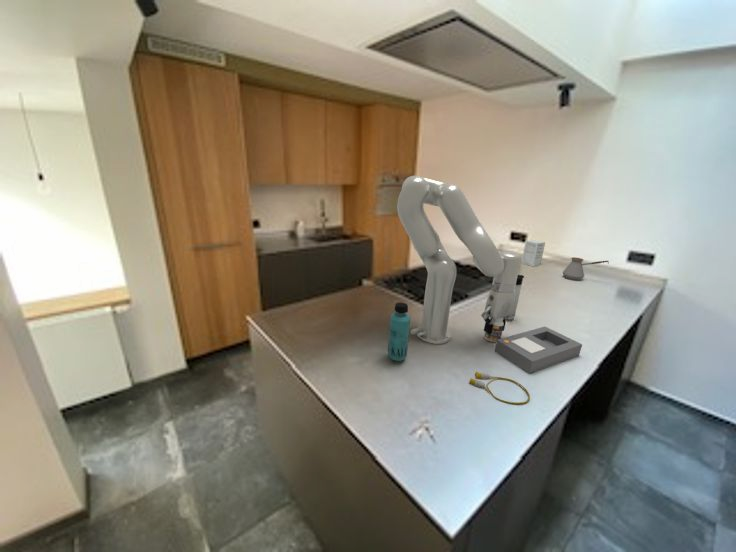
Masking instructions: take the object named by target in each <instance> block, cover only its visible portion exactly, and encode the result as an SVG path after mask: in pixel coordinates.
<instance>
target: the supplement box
mask: <svg viewBox="0 0 736 552" xmlns="http://www.w3.org/2000/svg"><path fill="white" fill-rule="evenodd" d="M523 247H524V248H523V253H522V256H521V264H523V265H526V266H530V267H538V266H541V264H542V260H543V257H544V256H543V255H544V250H545V247H546V242H545V241H540V240H537V239H530V240H529V239H528V240H525V243H524V246H523Z"/></svg>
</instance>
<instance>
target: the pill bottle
mask: <svg viewBox="0 0 736 552" xmlns="http://www.w3.org/2000/svg"><path fill="white" fill-rule="evenodd" d="M490 315H491V314H490ZM491 318H492V317H489V319H490V320H491ZM503 319H504V317H502V318H497V319H494V321H493V323H492V324H493V329H492V333H491V334H488V333H487V332H485V331H484V336H483V337H484V338H485V340H487V341H489V342H491V343H496V341H497V339H501V338H502V334H503V331H502V330H503V326H504V323H503Z"/></svg>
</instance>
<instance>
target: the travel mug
mask: <svg viewBox="0 0 736 552" xmlns="http://www.w3.org/2000/svg"><path fill="white" fill-rule="evenodd" d="M524 278H525V276H524V275H522V274H518V277H517V281H516V286H515V303H514V309H513V313H512V315H510V316H509V317H508V320H507V321H506V322H513V321H514V320H515V318H516V317H515V316H516V312H517V308H518V305H519V304H518V303H519V298H520V294H521V290H522V285H523V280H524Z"/></svg>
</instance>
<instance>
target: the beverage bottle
mask: <svg viewBox="0 0 736 552" xmlns="http://www.w3.org/2000/svg"><path fill="white" fill-rule="evenodd" d="M408 312H409V305H408V304H407V303H405V302H397V303H395V305H394V312H393V313H392V314H391V315H390V322H389V323H390V324H389V332H388V343H387V356H388V357H389V358H390V360H392V361H397V362H398V361H404V360H405V359H406V358H407V355H408V349H409V347H408V346H409V341H410V340H409V336H410V335H409V334H410V324H411V316H410V315H409V313H408Z"/></svg>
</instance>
